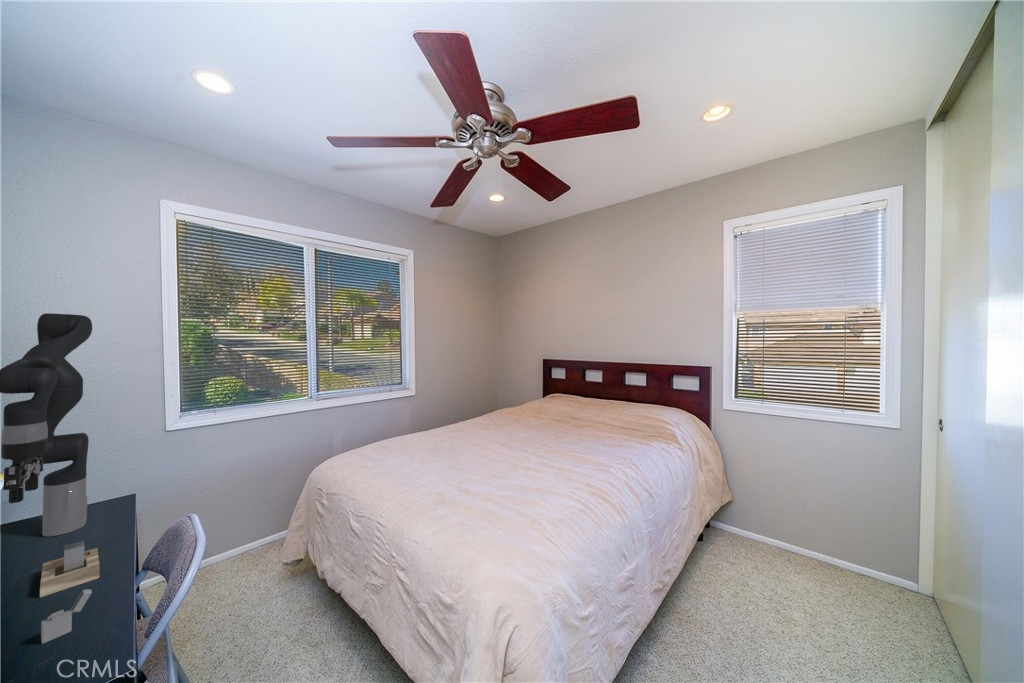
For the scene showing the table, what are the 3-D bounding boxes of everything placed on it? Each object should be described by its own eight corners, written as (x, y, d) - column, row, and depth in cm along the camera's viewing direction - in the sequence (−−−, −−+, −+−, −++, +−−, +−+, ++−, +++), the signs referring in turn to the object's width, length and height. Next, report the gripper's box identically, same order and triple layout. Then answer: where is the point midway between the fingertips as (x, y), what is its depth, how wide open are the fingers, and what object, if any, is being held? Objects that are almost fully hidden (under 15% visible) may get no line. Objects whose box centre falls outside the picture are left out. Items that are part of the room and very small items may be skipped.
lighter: (41, 644, 77) (42, 608, 77) (40, 640, 78) (41, 605, 78) (91, 622, 83) (92, 589, 83) (89, 619, 84) (90, 586, 84)
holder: (42, 573, 99) (43, 563, 99) (97, 557, 107) (97, 547, 107) (39, 597, 90) (40, 586, 90) (99, 577, 98) (99, 567, 98)
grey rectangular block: (63, 577, 98) (64, 545, 98) (83, 571, 101) (84, 540, 101) (63, 583, 96) (64, 550, 96) (83, 576, 98) (84, 545, 98)
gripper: (34, 443, 94) (33, 503, 94) (57, 430, 105) (56, 483, 105) (-13, 448, 89) (-14, 510, 89) (16, 434, 100) (15, 489, 101)
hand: (24, 495), depth 97 cm, fingers open, 8 cm apart
